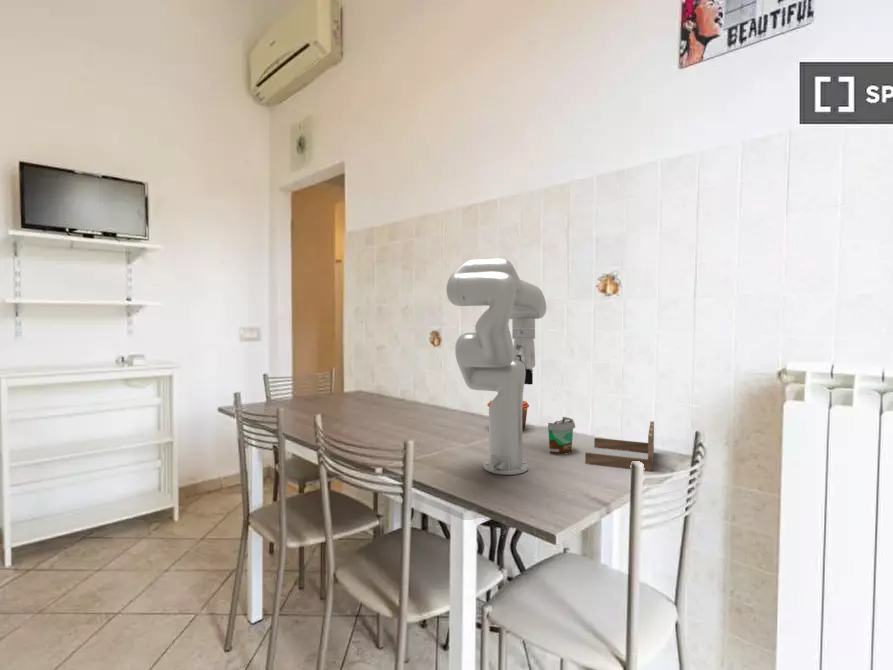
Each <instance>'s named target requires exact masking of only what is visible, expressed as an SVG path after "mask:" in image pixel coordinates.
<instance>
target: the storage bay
mask: <svg viewBox="0 0 893 670" xmlns="http://www.w3.org/2000/svg"><path fill="white" fill-rule="evenodd" d="M647 436H648V437H647V442H642V441H634V440H633V441H632V440H624V439H622V440H620V439H613V438H603V437H602V438H601V437H594V448H596V447H598V449H605V448H609V449H608V450H615V449H622V450H621V451H624V450H629V451H628V452H634V451H635V453H644V454H647V458H639V457H629V456H622V455H621V456H620V455H612V454H605V453H604V454H603V453H595V452H585V454H584V455H585V456H584V457H585V459H584V460H585V463H584V464H587V463H589V465H595V464H596V465H597V466H605V467H611V468H620V467H622V468H621V469H628V468H629V469H630V465H631V462H632V461H640V462H642V463H643V464H644V468H645V471H644V472H652V471H653V466H654V465H653V462H654V454H655V453H654V450H655V421H653V420H651V421H650V423H649V428H648V433H647ZM629 469H628V470H629Z"/></svg>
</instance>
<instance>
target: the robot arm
mask: <svg viewBox="0 0 893 670" xmlns="http://www.w3.org/2000/svg"><path fill="white" fill-rule="evenodd" d="M446 297H447V298H448V300H449V302H450V304H452V305H454V306H457V307H475V306H476V307H477V306H478V307H480V306H481V307H483V306H485V307H486V306H487V307H488V306H489V307H488V308H487V309H486V310H485V311H483V313H482V314H481V315H480V317H479V318H478V320H477V321H476V323H475V325H474V326H475V327H474V329H475V332H465V333H463V334H460V336H458V338H457V340H456V343H455V349H454V351H455V359H456V363H457V366H458V368H459V370H460V372H461V373H460V374H461V376H462V378H463V380H464V383H465V385H466V386H467V388H469V389H470V390H474V391H486V392H497V394H496V396H495V397H494V398H493V399H492V400H491V401H492V402H491V403H490V406H488V459H487V460H485V461H484V462H483V469H484V470H485V471H487V472H489V473H492V474H495V475H505V476H508V475H510V476H511V475H520V474H524V473H525V472H527V470H529V464H528V463H527V462H526V461H524V460H523V431H522V401H524V400H523V399H524V389H525V385H533V379H534V378H533V377H534V376H533V375H534V374H533V372H534V371H533V370H534V369H533V368H535V367H536V347H535V339H536V320H539V319H542V318H543V317H544V316H545V315H546V313H547V302H546V298H545V295H544V293H543V291H542V290H541V289H540V287H538V286H537V285H534V284H532V283H529V282H528V281H525V280H522V279H520V277H519V275H518V273H517V271H516V268H515V267H514V265H513V264H512V262H511V261H510V260H508V259H506V258H502V257H492V258H491V257H490V258H489V257H486V258H472V259H469V260H466V261H465V262H464V263H462V264H461V265H460V266H459V267H458V268H457V269H456V270H455V271H453V273H451V274H450V276H449V277H448V280H447V283H446ZM510 320H512V324H511V325H512V328H511V329H512V330H511V331H512V332H511V331H510V327H509V325H510V324H509V323H510ZM511 333H512V334H511Z"/></svg>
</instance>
